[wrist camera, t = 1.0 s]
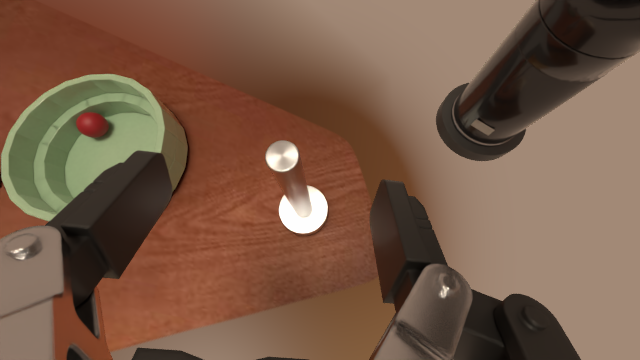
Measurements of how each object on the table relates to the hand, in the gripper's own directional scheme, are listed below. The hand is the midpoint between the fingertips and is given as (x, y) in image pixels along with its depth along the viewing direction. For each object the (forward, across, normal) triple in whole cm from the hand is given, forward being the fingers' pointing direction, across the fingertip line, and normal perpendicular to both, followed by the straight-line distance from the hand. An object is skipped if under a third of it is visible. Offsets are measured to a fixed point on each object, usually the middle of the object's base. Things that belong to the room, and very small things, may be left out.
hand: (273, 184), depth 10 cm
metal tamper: (+16, -2, +17) cm, 23 cm away
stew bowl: (+21, +22, +17) cm, 35 cm away
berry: (+23, +26, +13) cm, 37 cm away
